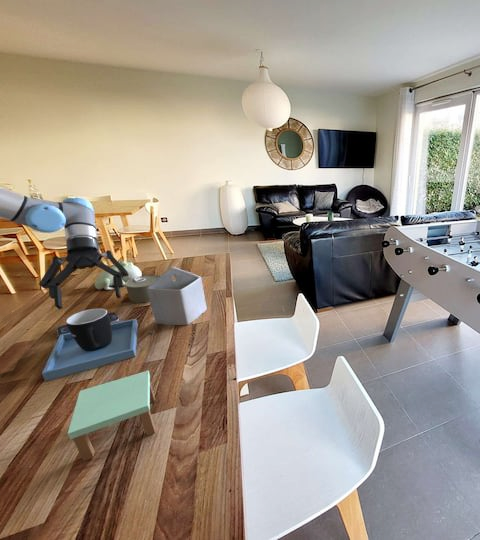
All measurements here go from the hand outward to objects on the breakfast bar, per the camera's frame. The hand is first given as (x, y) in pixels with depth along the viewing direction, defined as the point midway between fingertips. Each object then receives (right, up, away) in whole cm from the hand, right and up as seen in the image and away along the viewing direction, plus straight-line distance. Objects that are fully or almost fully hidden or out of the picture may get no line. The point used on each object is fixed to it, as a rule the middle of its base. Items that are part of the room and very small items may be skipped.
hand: (89, 301), depth 87 cm
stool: (+30, -24, -24) cm, 46 cm away
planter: (+20, -8, +15) cm, 26 cm away
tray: (+4, -14, -1) cm, 14 cm away
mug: (+4, -14, -1) cm, 14 cm away
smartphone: (-9, -9, +9) cm, 16 cm away
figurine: (-24, +3, +39) cm, 46 cm away
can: (-5, -1, +30) cm, 31 cm away
